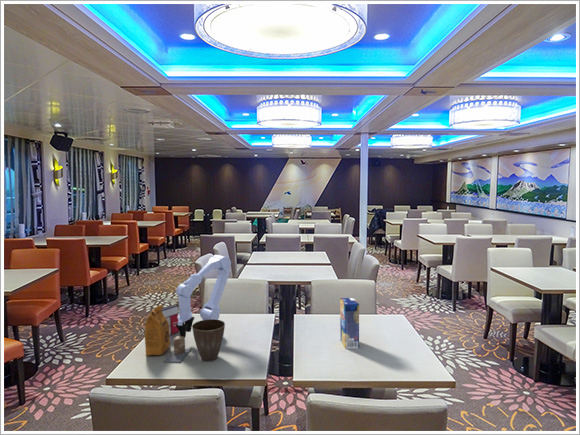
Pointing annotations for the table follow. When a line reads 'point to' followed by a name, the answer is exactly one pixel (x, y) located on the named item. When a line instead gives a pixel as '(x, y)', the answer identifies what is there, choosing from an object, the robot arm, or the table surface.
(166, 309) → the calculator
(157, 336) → the coffee package
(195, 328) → the plant pot
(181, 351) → the walnut block
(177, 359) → the rubber mat
